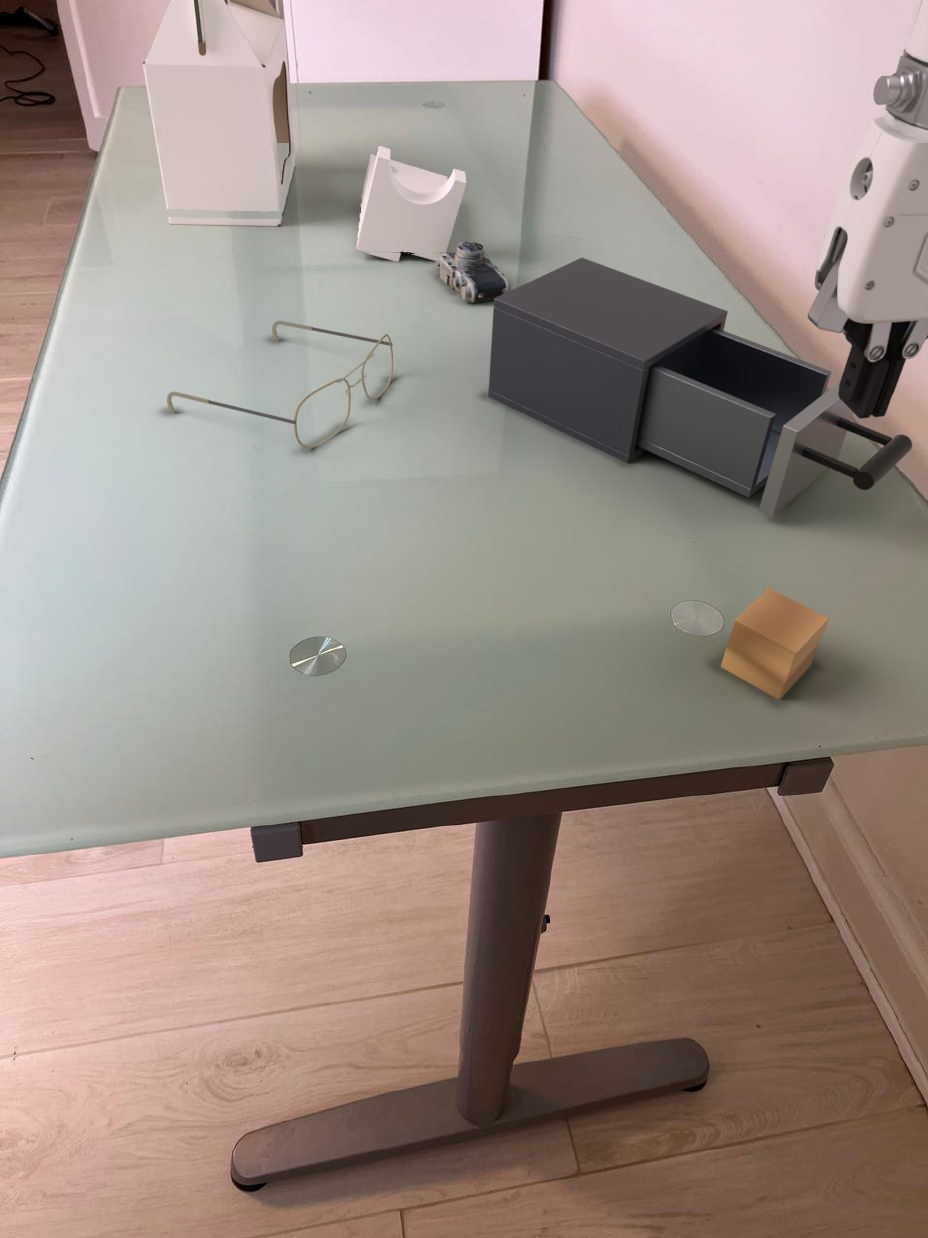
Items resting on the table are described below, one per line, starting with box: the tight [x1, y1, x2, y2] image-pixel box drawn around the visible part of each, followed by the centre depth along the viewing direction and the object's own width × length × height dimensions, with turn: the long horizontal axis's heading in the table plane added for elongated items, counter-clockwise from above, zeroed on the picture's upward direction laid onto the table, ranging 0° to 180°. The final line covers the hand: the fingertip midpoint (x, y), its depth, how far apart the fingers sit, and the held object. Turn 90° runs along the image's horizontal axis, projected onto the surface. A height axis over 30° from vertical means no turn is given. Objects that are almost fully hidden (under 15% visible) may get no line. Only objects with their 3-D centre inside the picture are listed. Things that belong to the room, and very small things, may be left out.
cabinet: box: [488, 257, 728, 464], centre depth 88 cm, size 16×13×10 cm
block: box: [720, 587, 830, 701], centre depth 65 cm, size 4×4×4 cm
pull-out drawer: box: [635, 327, 913, 518], centre depth 80 cm, size 20×11×8 cm, turn 48°
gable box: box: [142, 0, 295, 227], centre depth 117 cm, size 22×13×28 cm, turn 2°
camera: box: [434, 240, 511, 304], centre depth 107 cm, size 5×10×4 cm, turn 22°
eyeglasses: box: [166, 320, 394, 449], centre depth 88 cm, size 16×15×5 cm
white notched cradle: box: [356, 145, 467, 262], centre depth 116 cm, size 18×10×10 cm, turn 2°
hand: (860, 406), depth 64 cm, fingers closed
